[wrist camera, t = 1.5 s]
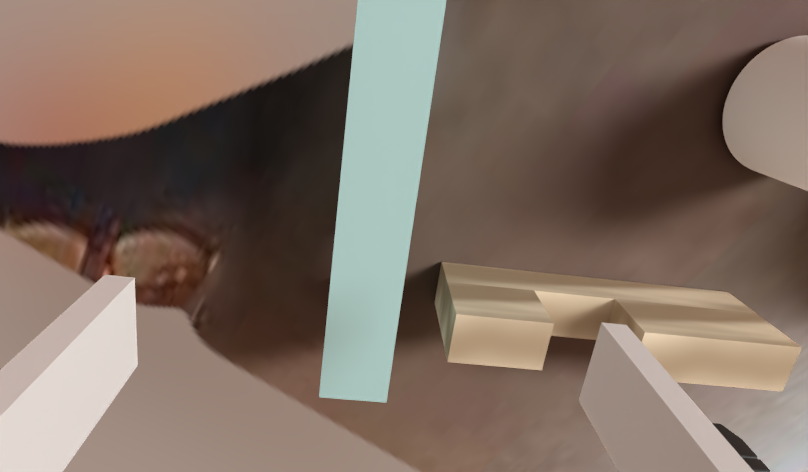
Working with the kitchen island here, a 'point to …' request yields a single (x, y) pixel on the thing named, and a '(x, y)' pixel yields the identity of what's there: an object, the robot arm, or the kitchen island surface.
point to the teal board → (378, 191)
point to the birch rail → (608, 303)
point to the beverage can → (771, 113)
